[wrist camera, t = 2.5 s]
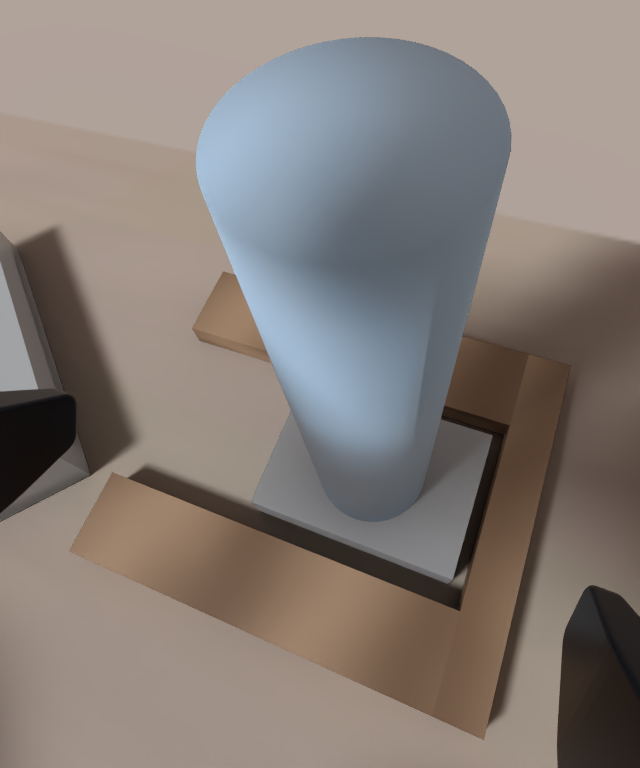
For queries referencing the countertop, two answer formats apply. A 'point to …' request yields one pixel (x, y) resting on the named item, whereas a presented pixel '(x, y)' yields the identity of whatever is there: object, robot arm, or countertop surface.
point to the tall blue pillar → (362, 279)
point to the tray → (30, 370)
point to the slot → (339, 582)
